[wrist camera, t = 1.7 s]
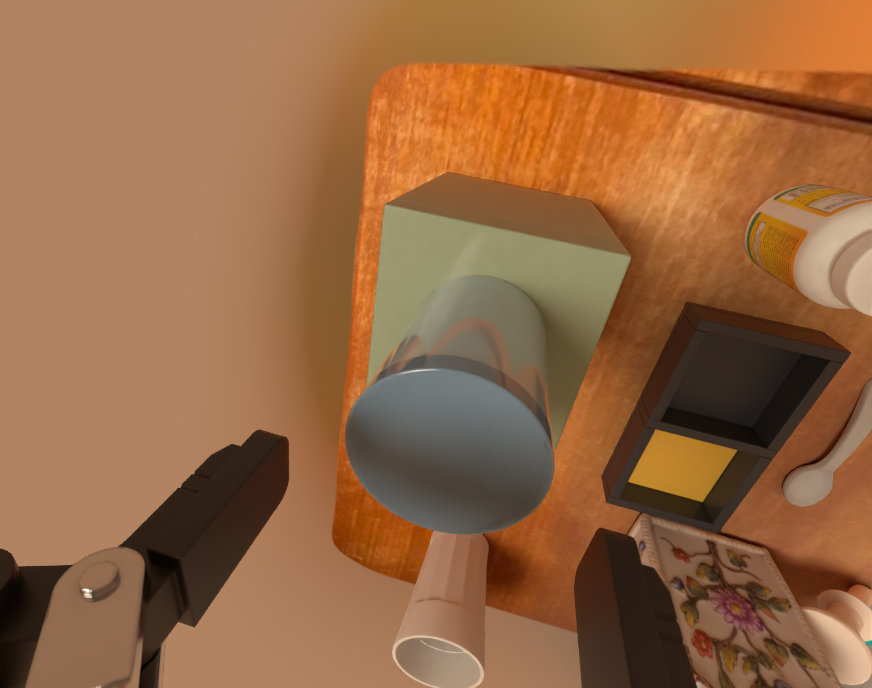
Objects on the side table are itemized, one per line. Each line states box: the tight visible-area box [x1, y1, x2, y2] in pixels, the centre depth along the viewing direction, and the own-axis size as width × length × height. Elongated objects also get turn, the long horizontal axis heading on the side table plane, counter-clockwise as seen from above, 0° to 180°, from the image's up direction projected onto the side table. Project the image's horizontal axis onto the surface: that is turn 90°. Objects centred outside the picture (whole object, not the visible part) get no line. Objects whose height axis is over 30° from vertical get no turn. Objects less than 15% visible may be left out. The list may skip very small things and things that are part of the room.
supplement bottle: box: [744, 184, 872, 316], centre depth 23 cm, size 5×5×10 cm
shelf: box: [367, 172, 631, 449], centre depth 25 cm, size 10×10×14 cm
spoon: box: [783, 379, 872, 507], centre depth 32 cm, size 3×12×2 cm, turn 170°
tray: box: [602, 302, 851, 533], centre depth 32 cm, size 17×9×3 cm, turn 171°
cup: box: [392, 531, 489, 688], centre depth 41 cm, size 8×8×12 cm
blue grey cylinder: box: [345, 275, 554, 535], centre depth 16 cm, size 6×6×8 cm
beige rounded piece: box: [799, 585, 872, 685], centre depth 35 cm, size 5×5×10 cm
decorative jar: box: [628, 513, 843, 688], centre depth 33 cm, size 12×12×18 cm
